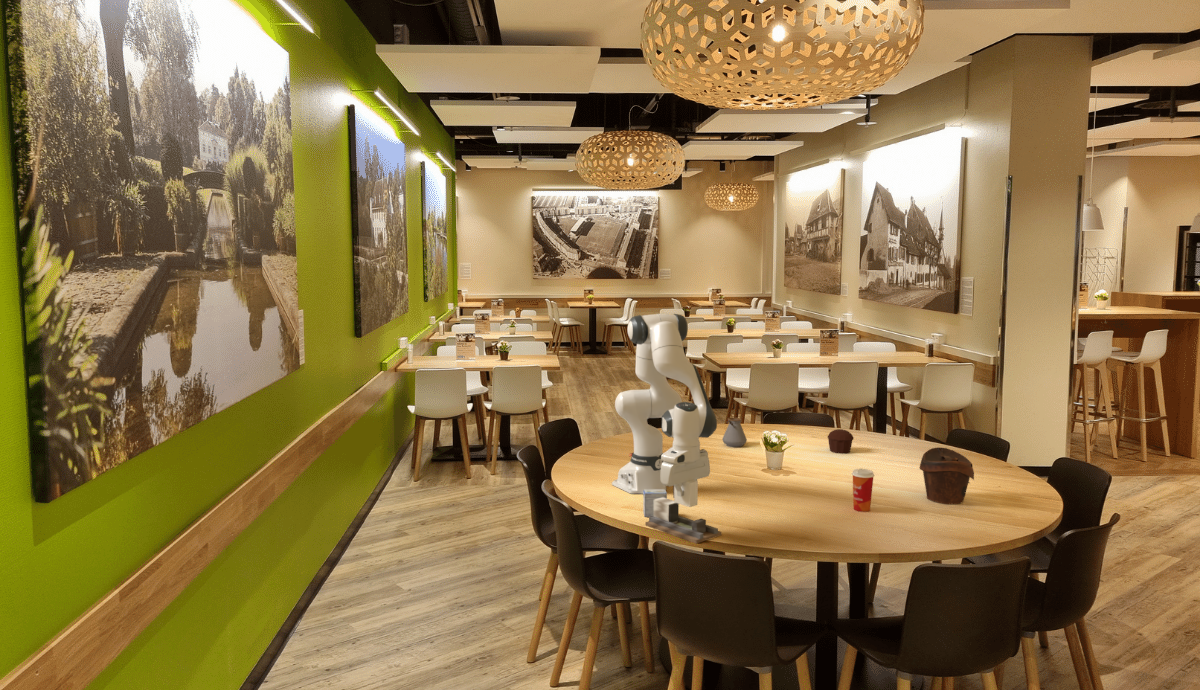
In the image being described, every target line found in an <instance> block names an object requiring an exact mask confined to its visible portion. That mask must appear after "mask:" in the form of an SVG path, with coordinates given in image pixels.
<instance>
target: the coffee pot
mask: <svg viewBox="0 0 1200 690" xmlns="http://www.w3.org/2000/svg"><path fill="white" fill-rule="evenodd" d="M727 420H728V421H727V422H728V424H727V427H726V430H725V432H724V434H723V436H722V438H721V439H722V442H723V443H724V445H725V446H727V447H729V448H741V447H743V446H744V445H745V444H746V443H747V437H746V434H745V432H744V429H743V427H742V425H741V423H742V420H743V419H742V418H740V417H729V418H727Z"/></svg>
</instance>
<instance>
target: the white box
mask: <svg viewBox="0 0 1200 690" xmlns="http://www.w3.org/2000/svg"><path fill="white" fill-rule="evenodd" d="M698 485H699V481H698V480H697V481H696V480H691V481H687V482H685V483H682V486H681V489H682V490H683V491H684V496H677V490H676V488H675V486H674V485H673V486H672V487H673V489H672V490H673V491H672V492H673V495H672V496H673V497H672V498H673V501H674V502H675V503H678V504H679V505H681V506H685V507H688V508H691V507H696V506H698V505H699V504H698V499H699V498H698V494H699V493H698V492H699V490H698V489H699V486H698Z"/></svg>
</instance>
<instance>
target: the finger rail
mask: <svg viewBox="0 0 1200 690" xmlns="http://www.w3.org/2000/svg"><path fill="white" fill-rule="evenodd" d="M679 505H680V504H678V503H675V502H674V499H670V498H668V497H667V498H664V497H662V498H658V499H655V500H654V516H650V517H648V521H645V526H646V527H649V528H652V529H655V530H657V531H661V532H662V533H666V534H669V535H671V536H674V537H677V538H679V539H683V540H685V541H688V542H691V543H694V544H699V543H702V542H705V541H708V540H710V539H714V538H717V537H719V536H722V534H723V533H722V531H720V530H719V528H717V527H714V526H712V525H708V524H707V520H706V518H705V519H704V518H702V517H701V518H698V519H695V520H694V519H691V518H687V517H684V516H681V515H680V514H679V508H680V506H679Z"/></svg>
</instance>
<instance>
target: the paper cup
mask: <svg viewBox="0 0 1200 690" xmlns="http://www.w3.org/2000/svg"><path fill="white" fill-rule="evenodd" d="M851 475H852V501H853V502H852V503H853V510H854V511H857V512H861V513H862V512H863V513H865V512H871V505H872V497H873V496H872V495H873V485H874V477H875V474H874V471H873V470H871V469H868V468H854V469H853V470H852V473H851Z"/></svg>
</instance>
